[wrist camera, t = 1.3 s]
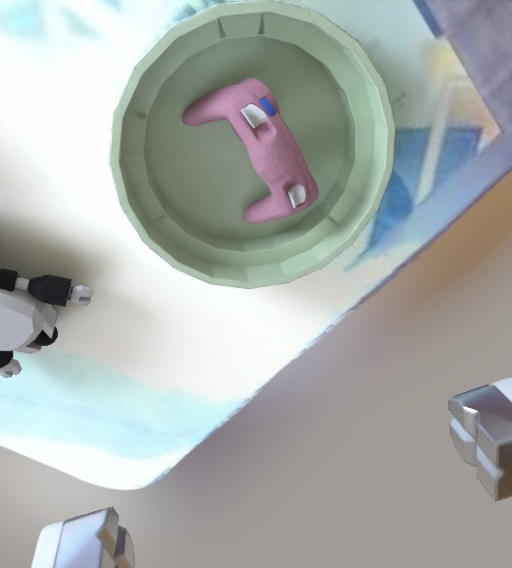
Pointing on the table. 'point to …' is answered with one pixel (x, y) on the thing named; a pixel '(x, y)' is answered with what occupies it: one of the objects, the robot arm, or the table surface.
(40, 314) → the robot toy
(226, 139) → the bowl
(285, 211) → the video game controller
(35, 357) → the table surface
